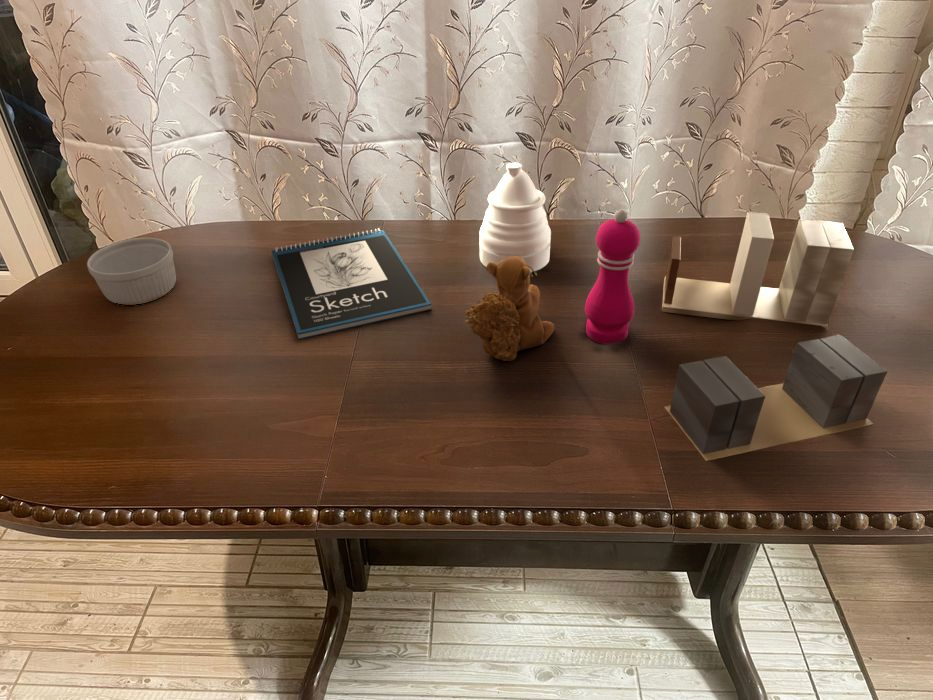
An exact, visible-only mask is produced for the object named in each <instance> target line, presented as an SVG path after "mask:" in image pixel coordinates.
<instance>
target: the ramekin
mask: <svg viewBox="0 0 933 700" xmlns="http://www.w3.org/2000/svg"><path fill="white" fill-rule="evenodd" d="M86 266H87V270H88V273H89V275H91V276H92V277H93V279H94V280H95V282H96V284H97V286H98V287H99V289H100V291H101V293H102V294H103V296H104V297H105V298H106V299H107V300H108V301H110V302H111V303H114V304H116V303H118V304H117V305H119V304H139V303H143V302H147V301H151V300H154V299H156V298H159V297H160V296H163V295H164V294H166V293H167V292H169V291H170V290H171V289H172V288H174V286H175V285H176V283H177V274H176V273H177V272H176V267H175V263H174V251H173V249H172V246H171V244H170V243H169V242H168V241H166V240H164V239H161V238H158V237H135V238H134V237H133V238H128V239H124V240H121V241H120V240H119V241H116V242H112V243H110V244H108V245H106V246H104V247H101V248H100V249H98V250H97V251H95V252H94V253H92V254H91V255H90V257H88V259H87V261H86ZM172 290H173V289H172ZM172 290H171V291H172ZM171 291H170V292H171ZM170 292H169V293H170Z"/></svg>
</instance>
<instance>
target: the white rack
mask: <svg viewBox="0 0 933 700" xmlns="http://www.w3.org/2000/svg"><path fill="white" fill-rule="evenodd" d="M797 223H798V224H797V226H796V229H795V232H794V236H793V239H792V243H791V246H790V250H789V253H788V257H787V260H786V263H785V266H784V269H783V272H782V273H783V274H782V277H781V280H780V283H779V286H778V288H777V287H774V288H773V287H766V286H761V289H760V292H759V296H758V299H757V303H756V307H755V310H754V314H753V316H752V315H744V314H735V313H733V312H732V301H731V291H730V283H729V282H721V281H720V282H719V281H713V280H712V281H711V280H702V279H693V278H685V277H678V273H679V267H680V263H681V251H682V250H681V248H682V247H681V245H682V242H681V241H682V236H677V235H676V236H675V235H673V236H672V240H671V247H670V252H669V257H668V263H667V269H666V274H665V276H664V278H663V283H662V285H663V287H662V299H661V300H662V301H661V312H662V313H670V314H678V315H687V316H695V317H704V318H711V319H719V320H728V321H735V322H739V321H744V320H751V319H763V320H770V321H778V322H779V321H780V322H787V323H788V322H789V323H796V324H803V325H811V326H812V325H814V326H821V327H823V328H824V329H825V330H827V329H828V328H829V327H828V323H829V320H830V318H831V315H832V312H833V310H834V306H835V304H836V301H837V298H838V295H839V292H840V290H841V287H842V284H843V281H844V279H845V276H846V274H847V270H848V268H849V264H850V262H851V259H852V256H853V254H854V251H855V249H854V246H853V244H852V242H851V239H850V237H849V235H848V232H847V231H846V229H845V226H844V223H843V222H839V221H827V220H815V219H803V218H799V219H798V222H797Z"/></svg>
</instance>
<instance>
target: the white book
mask: <svg viewBox="0 0 933 700" xmlns="http://www.w3.org/2000/svg"><path fill="white" fill-rule="evenodd" d="M741 233H742V234H741V237H740V242H739V246H738V250H737V253H736V258H735V261H734V265H733V271H732V274H731V279H730V291H731V301H732V312H733V313H735V314H744V315H752V316H753V314H754V310H755V307H756V303H757V299H758V296H759V292H760V289H761V287H762V284H763V281H764V277H765V274H766V270H767V266H768V264H769V263H768V262H769V259H770V255H771V252H772V248H773V245H774V243H775V242H774V241H775V237H774V233H773V229H772V223H771V219H770V215H769V213H768V212H767V213H766V212H755V211H754V212H753V211H747V213H746V217H745V221H744V226H743V229H742V232H741Z"/></svg>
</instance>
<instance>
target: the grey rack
mask: <svg viewBox="0 0 933 700" xmlns="http://www.w3.org/2000/svg"><path fill="white" fill-rule="evenodd" d="M795 345H796V346H795V349H794V351H793V355H792V357H791V361H790V364H789V367H788V369H787V372H786V375H785V378H784V381H783V383H777V384H773V385H767V386H762V387H757V386H756V385H755V384H754V383H753V382H752V381H751V380H750V379H749V377H747V376H746V375H745V374H744V373H743V372H742V371H741V370H740V368H738V366H737V365H736V364H734V362H733V361H731V360H730V358H728V356H726V355H724V356H718V357H712V358H707V359H704V360H696V361H692V362H686V363H681V364H679V366H678V370H677V374H676V379H675V384H674V389H673V394H672V398H671V404H670V405H667V406H664V409H665V411H667V413H668V414H669V416H670V417H671V418H672V419H673V420H674V422H675V423H676V424H677V425H678V427H679V428H680V429H681V431H682V432H683V433H684V435H685V436H686V437H687V438H688V440H689V442H691V444H692V445H693V447H694V448H695V449H696V450H697V451H698V453H699V454H700V456H702V458H703V459H704V460H705V461H706V462H708V461H713V460H717V459H723V458H727V457H730V456H735V455H740V454H745V453H748V452H754V451H757V450H759V451H760V450H764V449H768V448H772V447H776V446H780V445H785V444H790V443H791V444H792V443H795V442H799V441H800V442H801V441H804V440H808V439H813V438H817V437H823V436H826V435H832V434H835V433H840V432H845V431H850V430H853V429H859V428H862V427H863V428H864V427H869V426H872V425H874V423H873V422H872V421H871V420H870V419H869V418H868V416H869V414H870V412H871V409H872V407H873V406H874V404H875V401H876V398H877V396H878V394H879V392H880V389H881V387H882V385H883V383H884V381H885V378H886V376H887V374H888V371H887V369H885V368H884V367H883V366H881V365H880V364H879V363H877V362H876V361H875V360H873V359H872V358H871V357H870V356H868V355H867V354H866V353H865V352H863V351H862V350H860V348H858V347H856V346H855V345H854V344H853V343H852V342H851V341H849V340H848V339H846V338H845V337H844V336H843V335H841V334H837V335H831V336H826V337H821V338H820V339H818V338H815V339H810V340H805V341H799V342H796V344H795Z"/></svg>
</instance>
